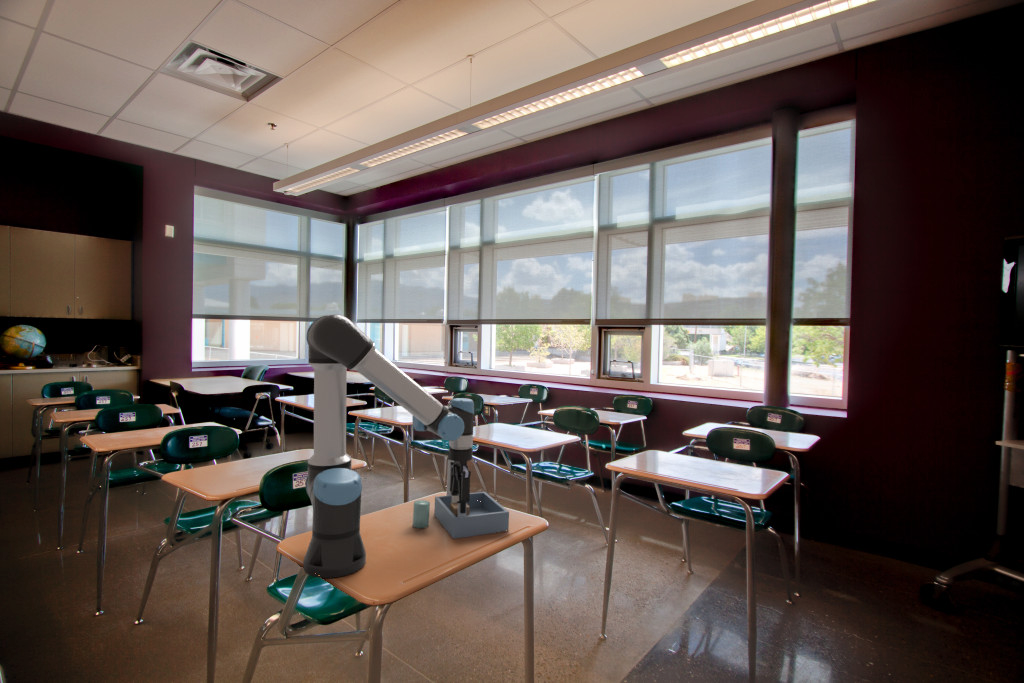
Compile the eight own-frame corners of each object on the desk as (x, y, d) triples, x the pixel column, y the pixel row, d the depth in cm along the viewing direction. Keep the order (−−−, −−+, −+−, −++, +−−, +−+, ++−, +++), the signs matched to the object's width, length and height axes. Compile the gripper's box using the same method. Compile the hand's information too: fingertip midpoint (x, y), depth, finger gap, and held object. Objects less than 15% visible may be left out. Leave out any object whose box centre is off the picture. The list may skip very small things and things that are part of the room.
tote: (453, 538, 145) (453, 518, 145) (434, 514, 164) (434, 496, 164) (508, 530, 153) (509, 511, 153) (484, 508, 172) (484, 491, 172)
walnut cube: (454, 524, 154) (454, 508, 154) (449, 518, 158) (449, 503, 158) (469, 522, 156) (469, 506, 156) (464, 517, 160) (464, 501, 160)
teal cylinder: (416, 529, 151) (417, 506, 151) (410, 523, 156) (411, 501, 155) (431, 526, 154) (432, 504, 154) (424, 520, 158) (426, 499, 158)
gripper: (482, 452, 150) (479, 528, 150) (462, 440, 167) (460, 508, 167) (458, 454, 147) (456, 531, 147) (441, 441, 164) (439, 510, 164)
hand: (458, 518), depth 157 cm, fingers open, 6 cm apart
